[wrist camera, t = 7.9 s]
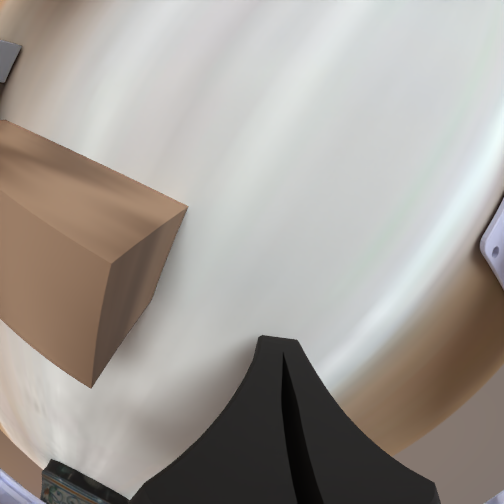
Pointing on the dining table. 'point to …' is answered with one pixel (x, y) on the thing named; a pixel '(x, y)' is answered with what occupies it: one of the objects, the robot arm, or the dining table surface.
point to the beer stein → (74, 487)
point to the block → (7, 57)
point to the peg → (76, 250)
